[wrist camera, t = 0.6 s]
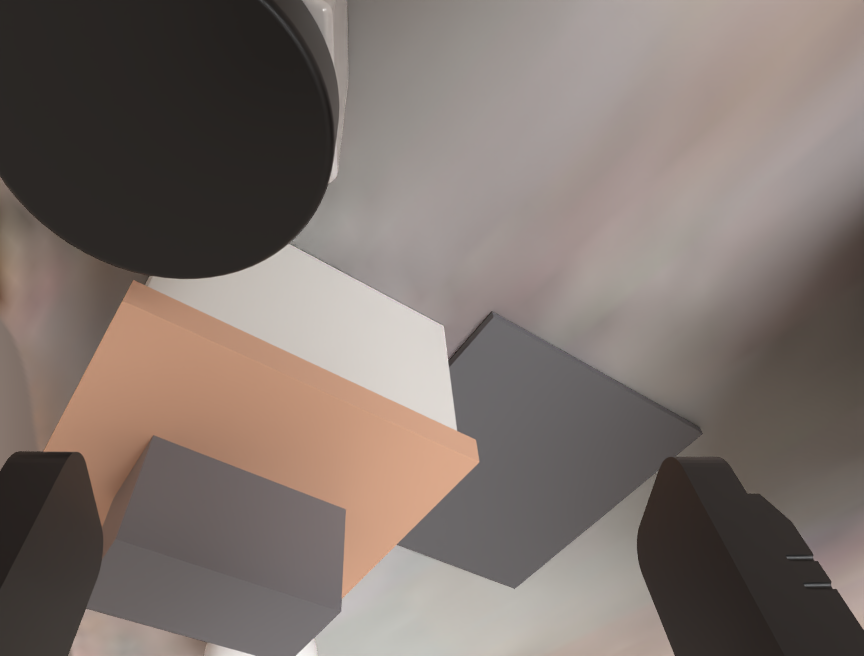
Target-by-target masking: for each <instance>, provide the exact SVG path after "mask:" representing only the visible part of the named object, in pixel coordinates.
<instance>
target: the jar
mask: <svg viewBox="0 0 864 656" xmlns="http://www.w3.org/2000/svg"><path fill="white" fill-rule="evenodd" d="M348 80H349V70H348V19H347V0H0V177H1V178H2V180H3V181H4V183H5V184H6V186H7V187H8V188H9V189H10V191H11V192H12V193H13V194H14V195H15V197H16V198H17V199H18V200H19V201H20V202H21V203H22V204H23V206H24V207H25V208H26V209H27V210H28V211H29V212H30V213H31V214H32V215H33V216H35V217H36V218H37V219H38V220H39V221H40V222H41V223H42V224H43V225H45V226H46V227H47V228H49V229H50V230H51V231H52V232H54V233H55V234H56V235H58V236H59V237H60V238H62V239H63V240H65V241H66V242H68V243H69V244H71V245H73V246H74V247H76V248H78V249H80V250H81V251H83V252H85V253H87V254H89V255H91V256H93V257H95V258H97V259H99V260H101V261H103V262H106V263H109V264H111V265H114V266H116V267H119V268H122V269H125V270H129V271H132V272H136V273H140V274H144V275H149V276H155V277H162V278H172V279H201V278H212V277H217V276H223V275H227V274H231V273H235V272H239V271H241V270H244V269H247V268H249V267H252V266H254V265H256V264H258V263H260V262H262V261H265V260H266V259H268V258H270V257H271V256H273V255H274V254H276V253H277V252H279V251H280V250H281V249H283V248H284V247H285V246H287V245H288V244H289V243H290V242H291V241H292V240H293V239H294V238H295V237H296V236H297V235H298V234H299V233H300V232H301V231H302V230H303V228H304V227H305V226H306V225H307V224H308V222H309V221H310V219H311V218H312V216H313V215H314V213H315V212H316V210H317V208H318V206H319V205H320V203H321V201H322V198H323V196H324V194H325V192H326V189H327V186H328V183H330V182H332V181H334V180H335V178H336V177H337V175H338V167H339V158H340V149H341V140H342V132H343V123H344V114H345V106H346V97H347V88H348Z"/></svg>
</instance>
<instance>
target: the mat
mask: <svg viewBox="0 0 864 656" xmlns="http://www.w3.org/2000/svg"><path fill="white" fill-rule="evenodd" d="M448 364H449V371H450V379H451V387H452V395H453V403H454V410H455V418H456V426H457V431H458V432H460V433H462V434H465V435H467V436H469V437H471V438H473V439H475V440H476V443H477V449H478V456H479V463H478V464H477V465H476V466H475V467H474V468H473V469H472V470H471V471H470V472H469V473H468V474H467V475H466V476H465V477H464V478H463V479H462V480H461V481H460V482H459V483H458V484H457V485H456V486H455V487H454V488H453V489H452V490H451V491H450V492H449V493H448V494H447V495H446V496H445V497H444V498H443V499H442V500H441V501H440V502H439V503H438V504H437V505H436V506H435V507H434V508H433V509H432V510H431V511H430V512H429V513H428V514H427V515H426V516H425V517H424V518H423V519H422V520H421V521H420V522H419V523H418V524H417V525H416V526H415V527H414V528H413V529H412V530H411V531H410V532H409V533H408V534H407V535H406V536H405V537H404V538H403V539H402V540H401V541H400V542H399V543H398V544H397V545H400V546H402V547H405V548H408V549H410V550H413V551H416V552H418V553H421V554H424V555H426V556H429V557H432V558H434V559H437V560H440V561H442V562H445V563H447V564H450V565H453V566H455V567H458V568H461V569H463V570H466V571H469V572H471V573H474V574H477V575H479V576H482V577H485V578H487V579H490V580H493V581H495V582H498V583H501V584H503V585H506V586H509V587H511V588H514V589H515V588H516V587H517V586H519V585H520V584H521V583H522V582H524V581H525V580H526V579H527V578H528V577H530V576H531V575H532V574H533V573H534V572H536V571H537V570H538V569H539V568H540V567H542V566H543V565H544V564H545V563H547V562H548V561H549V560H550V559H551V558H553V557H554V556H555V555H556V554H557V553H559V552H560V551H561V550H562V549H564V548H565V547H566V546H567V545H568V544H570V543H571V542H572V541H573V540H574V539H576V538H577V537H578V536H579V535H580V534H582V533H583V532H584V531H585V530H587V529H588V528H589V527H590V526H591V525H593V524H594V523H595V522H596V521H597V520H599V519H600V518H601V517H602V516H604V515H605V514H606V513H607V512H608V511H610V510H611V509H612V508H613V507H614V506H616V505H617V504H618V503H619V502H620V501H622V500H623V499H624V498H625V497H627V496H628V495H629V494H630V493H631V492H633V491H634V490H635V489H636V488H637V487H639V486H640V485H641V484H642V483H644V482H645V481H646V480H647V479H648V478H650V477H651V476H652V475H653V474H654V473H656V472H657V471H658V470H659V469H660V466H661V464H662V462H663V461H664V460H665V459H666V458H668V457H675V456H676V455H677V454H679V453H680V452H681V451H682V450H684V449H685V448H686V447H687V446H688V445H690V444H691V443H692V442H693V441H694V440H696V439H697V438H698V437H699V436H700V435H702V434H703V433H702V431H701V429H700V427H698V426H696V425H694V424H693V423H691V422H689V421H687V420H685V419H684V418H682V417H680V416H678V415H676V414H675V413H673V412H671V411H669V410H668V409H666V408H664V407H662V406H660V405H659V404H657V403H655V402H653V401H651V400H650V399H648V398H646V397H644V396H643V395H641V394H639V393H637V392H635V391H634V390H632V389H630V388H628V387H626V386H625V385H623V384H621V383H619V382H618V381H616V380H614V379H612V378H610V377H609V376H607V375H605V374H603V373H601V372H600V371H598V370H596V369H594V368H593V367H591V366H589V365H587V364H585V363H584V362H582V361H580V360H578V359H576V358H575V357H573V356H571V355H569V354H568V353H566V352H564V351H562V350H560V349H559V348H557V347H555V346H553V345H551V344H550V343H548V342H546V341H544V340H543V339H541V338H539V337H537V336H535V335H534V334H532V333H530V332H528V331H526V330H525V329H523V328H521V327H519V326H518V325H516V324H514V323H512V322H510V321H509V320H507V319H505V318H503V317H501V316H500V315H498V314H496V313H494V312H493V311H492V312H491V313H490V314H489V316H488V317H487V318H486V319H485V320H484V321H483V322H482V324H481V325H480V326H479V327H478V328H477V329H476V330H475V332H474V333H473V334H472V335H471V336H470V337H469V338H468V340H467V341H466V342H465V343H464V344H463V345H462V346H461V348H460V349H459V350H458V351H457V352H456V353H455V354H454V356H453V357H452V358H451V359H450V360H449V361H448Z"/></svg>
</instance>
